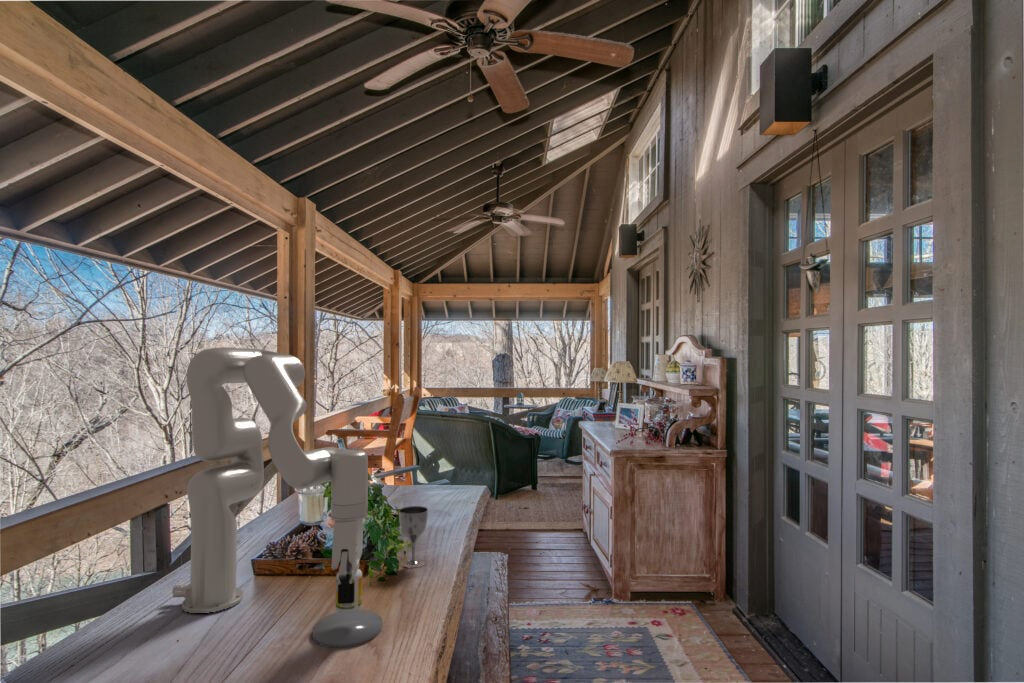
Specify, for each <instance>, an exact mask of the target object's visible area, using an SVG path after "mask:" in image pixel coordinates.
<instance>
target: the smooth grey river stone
mask: <svg viewBox="0 0 1024 683" xmlns="http://www.w3.org/2000/svg"><path fill="white" fill-rule="evenodd" d="M382 630H383V618H382V616H381V615H380V614H379V613H377V612H375V611H373V610H369V609H361V608H359V609H358V610H356V611H353V612H348V613H342V612H339V611H336V612H333V613H330V614H328V615H326V616H324V617H322V618H321V619H319V620H318V621H317V622H315V624H314V626H313V629H312V637H313V638H312V639H313V640H314V641H315V643H317V644H318V643H319V644H318V645H320V644H321V646H323V647H326V646H327V648H341V649H342V648H349V646H350V647H354V645H355V646H359V645H363V644H364V643H367V642H370V641H371V640H373V639H374V638H376V637H377V636H379V635H380V633H381V632H382Z"/></svg>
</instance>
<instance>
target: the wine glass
mask: <svg viewBox="0 0 1024 683" xmlns="http://www.w3.org/2000/svg"><path fill="white" fill-rule="evenodd" d="M428 512H429V511H428V507H426V506H422V505H420V506H419V505H411V506H405V507H402V508H399V511H398V517H399V519H398V520H399V527H400V530H401V532H402V533H403V535H404V536H405V537H406V538H407V540H408V541H409V543H410V546H411V560H409V559H407V560H408V561H406V562H405V563H406V564H407V565H408V564H409V565H415V564H418V563H419V562H420V561H419V560H416V559H417V558H415V557H416V556H415V555H416V552H415V551H416V544H417V541H418V540H419V538H420V537H421V535H423V533H424V531H426V527H427V524H428V517H429V516H428V515H429V513H428Z"/></svg>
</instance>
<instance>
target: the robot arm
mask: <svg viewBox="0 0 1024 683" xmlns="http://www.w3.org/2000/svg"><path fill="white" fill-rule="evenodd" d="M185 375H186V377H185V378H186V386H187V390H188V393H189V396H190V398H189V399H190V403H191V426H192V428H191V429H192V430H191V431H192V444H193V445H192V446H193V453H194V455H195V457H196V458H197V459H198V460H200V461H202V462H217V461H223V460H227V459H230V461H231V462H230V463H227V464H222V465H216V466H212V467H208V468H207V467H206V468H204V469H202V470H200V471H198V472H197V473H195V474H194V475H193V476H192V477H191V478H190V479H189V481H188V484H187V487H186V496H187V501H188V505H189V510H190V512H189V513H190V525H191V526H190V527H191V528H190V530H191V534H190V535H191V537H190V539H191V540H190V541H191V542H190V573H189V574H190V576H189V577H190V582H189V583H188V584H187V585H185V584H184V585H183V584H181V585H180V584H178V585H174V586H173V588H172V597H173V598H184V600H183V601H182V603H181V609H182V611H183V610H184V611H183V612H185V613H187V612H189V613H188V614H190V613H207V612H213V611H218V612H220V611H219V610H222V611H224V610H223V609H225V610H228V609H230V608H232V607H234V606H236V605H238V604H239V603H240V602H241V601H242V600H243V599H244V592H243V591H244V590H242V589H240V588H239V587H237V560H238V559H237V556H238V555H237V554H238V553H237V551H238V550H237V549H238V522H237V519H236V516H235V514H234V513H233V511H232V510H231V507H230V505H233V504H235V503H236V504H237V503H239V502H242V501H245V500H249V499H252V498H254V497H255V496H257V495H259V493H260V491H261V490H262V488H263V486H264V479H265V471H264V470H265V468H264V447H263V435H262V433H261V429H260V428H259V426H258V424H257V423H256V422H255V421H254V420H252V419H250V418H247V417H237V418H234V417H233V403H232V399H231V397H230V395H229V393H228V391H227V390H226V388H224V386H223V385H225V384H243V383H244V384H245V383H246V384H247V386H248V388H249V389H250V391H251V392H252V395H253V396H254V398H255V399H256V401H257V403H258V404H259V406H260V407H261V409H262V411H263V412H264V414H265V416H266V417H267V420H268V421H269V424H270V426H269V430H268V435H267V443H268V444H267V446H268V453H269V456H270V459H271V461H272V463H273V464H274V466H275V468H276V469H277V471H278V473H279V474H280V476H281V477H282V479H283V480H284V481H285V483H286V484H288V486H290V487H292V488H293V489H297V490H305V489H309V488H312V487H314V486H315V487H316V486H318V485H321V484H326V483H330V482H331V483H330V519H331V521H334V524H333V530H332V531H333V532H332V545H331V546H332V548H331V551H332V552H331V569H332V571H335V570H337V569H338V572H339V579H338V603H339V604H345V603H353V602H354V582H353V571H354V568H355V567H356V566H357V564H358V562H359V563H360V560H361V558H362V554H363V545H364V544H363V543H364V540H363V539H364V534H363V533H364V532H363V531H364V525H363V523H364V520H363V519H365V518H367V517H368V516H369V515H368V514H369V513H368V512H369V509H368V507H369V506H368V504H369V501H368V500H369V499H368V498H369V457H368V454H367V453H366V452H365V451H363V450H358V449H357V450H356V449H348V450H346V449H343V448H339V447H335V446H326V447H321V448H314V449H310V450H305V451H304V450H303V449H302V447H301V445H300V444H299V443H298V440H297V439H296V437H295V434H294V429H293V428H294V423H295V422H297V421H298V420H299V419H301V417H302V416H303V415H304V414H305V412H306V410H307V407H308V406H307V402H306V400H305V398H304V397H303V395H302V394H301V392H300V391H299V389H298V388H299V387H301V385H302V384H303V382H304V380H305V378H306V370H305V366H304V365H303V362H301V360H300V359H299V358H297V356H294V355H292V354H287V353H282V352H275V351H272V350H267V349H259V348H248V347H245V348H243V347H240V348H239V347H212V348H210V347H209V348H206V349H203V350H200V351H199V352H197V353H196V354H195V355H194V356H193V357H192V358H191V360H190V361H189V363H188V366H187V369H186V374H185ZM347 565H351V567H350V568H347ZM358 569H360V567H359V568H358ZM347 571H350V575H349V573H348V574H347ZM229 607H230V608H229ZM227 608H228V609H227Z"/></svg>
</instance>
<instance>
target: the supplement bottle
mask: <svg viewBox="0 0 1024 683" xmlns="http://www.w3.org/2000/svg"><path fill="white" fill-rule="evenodd" d="M350 567H351V565H347V568H350ZM358 568H359V569H358ZM348 573H349V575H350V571H347V574H348ZM338 579H339V571H338V572H337V573H336V575H335V609H336V612H342V613H348V612H353V611H356V610H358V609H361V607H362V604H363V603H362V602H363V600H362V599H363V572H362V570H361V569H360V561H359V562H358V564H357V566H356V567H355V568H354V571H353V582H354V602H353V603H345V604H339V603H338Z"/></svg>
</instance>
